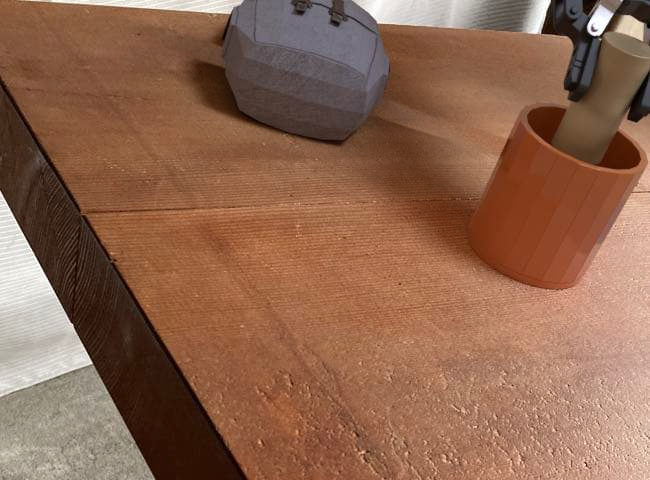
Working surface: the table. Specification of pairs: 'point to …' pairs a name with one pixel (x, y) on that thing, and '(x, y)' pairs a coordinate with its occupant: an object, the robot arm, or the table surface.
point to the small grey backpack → (305, 64)
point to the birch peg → (604, 98)
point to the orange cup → (551, 202)
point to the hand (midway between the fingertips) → (607, 106)
